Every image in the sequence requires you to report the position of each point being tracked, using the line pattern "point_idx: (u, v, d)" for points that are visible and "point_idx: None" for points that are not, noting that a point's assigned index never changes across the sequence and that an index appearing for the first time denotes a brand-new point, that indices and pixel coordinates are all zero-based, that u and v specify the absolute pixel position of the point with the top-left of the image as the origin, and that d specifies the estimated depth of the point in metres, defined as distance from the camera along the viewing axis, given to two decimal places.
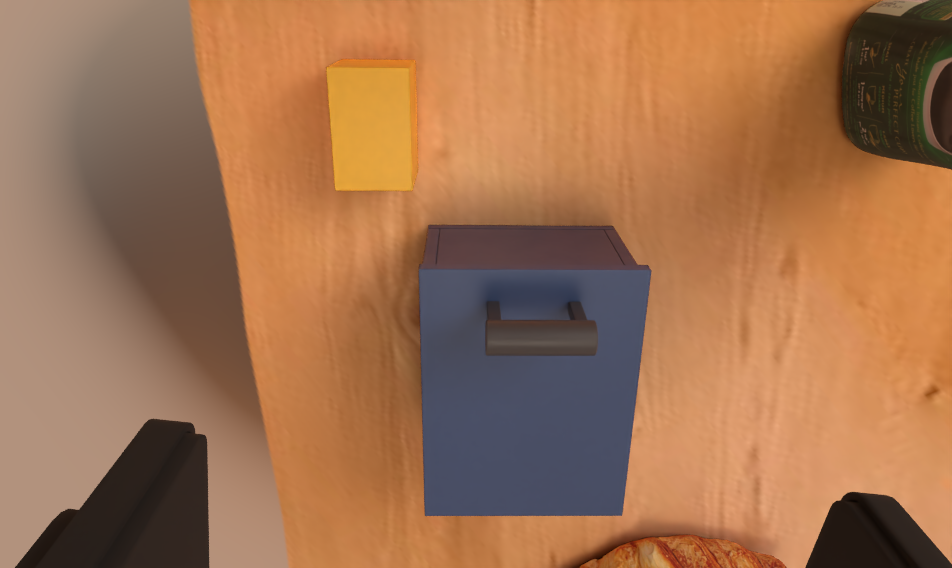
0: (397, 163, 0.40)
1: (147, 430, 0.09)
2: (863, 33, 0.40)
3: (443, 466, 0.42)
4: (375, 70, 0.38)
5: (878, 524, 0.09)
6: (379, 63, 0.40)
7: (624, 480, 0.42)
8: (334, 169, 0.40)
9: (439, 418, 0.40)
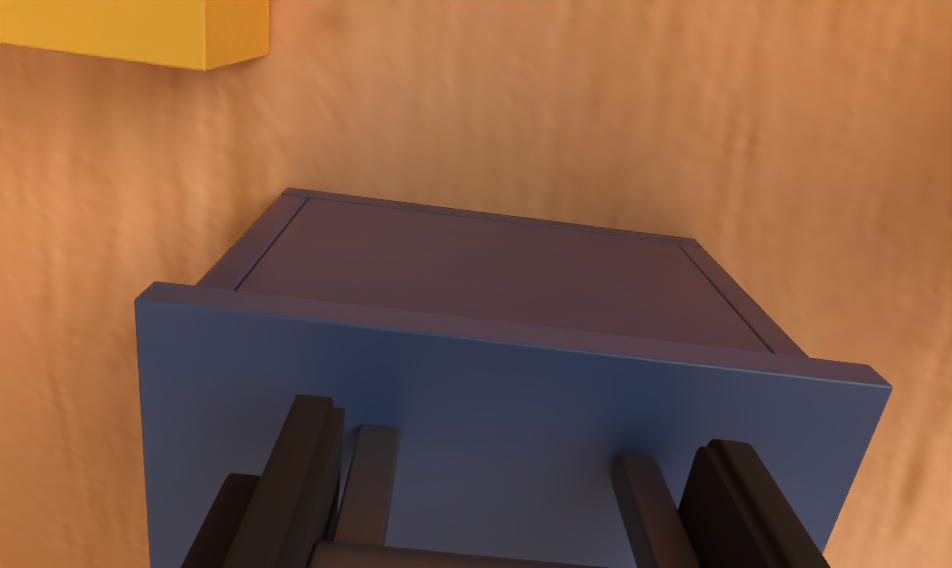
0: None
1: (299, 403, 0.10)
2: None
3: None
4: None
5: (728, 465, 0.10)
6: None
7: None
8: None
9: None
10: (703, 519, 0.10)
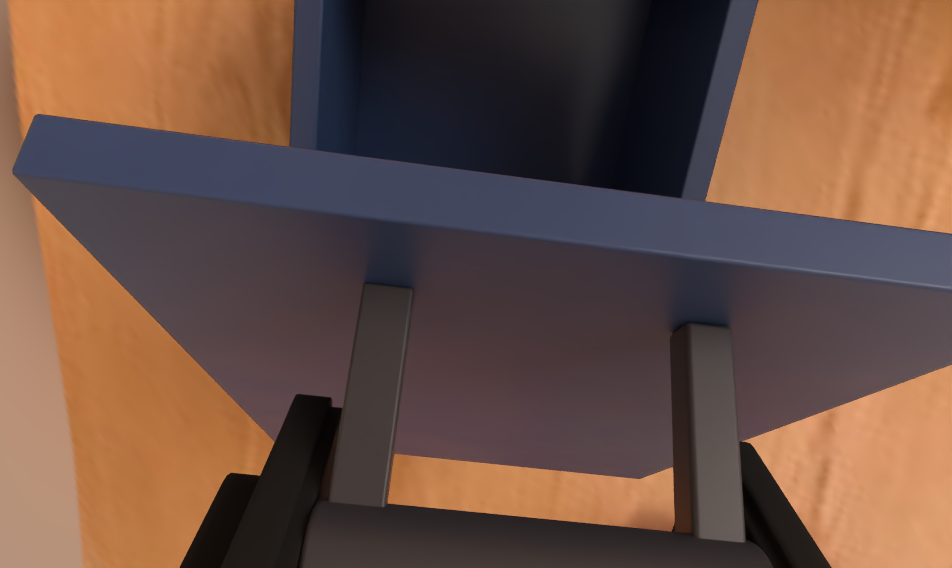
0: None
1: (298, 403, 0.10)
2: None
3: None
4: None
5: None
6: None
7: (665, 467, 0.21)
8: None
9: (264, 392, 0.16)
10: None
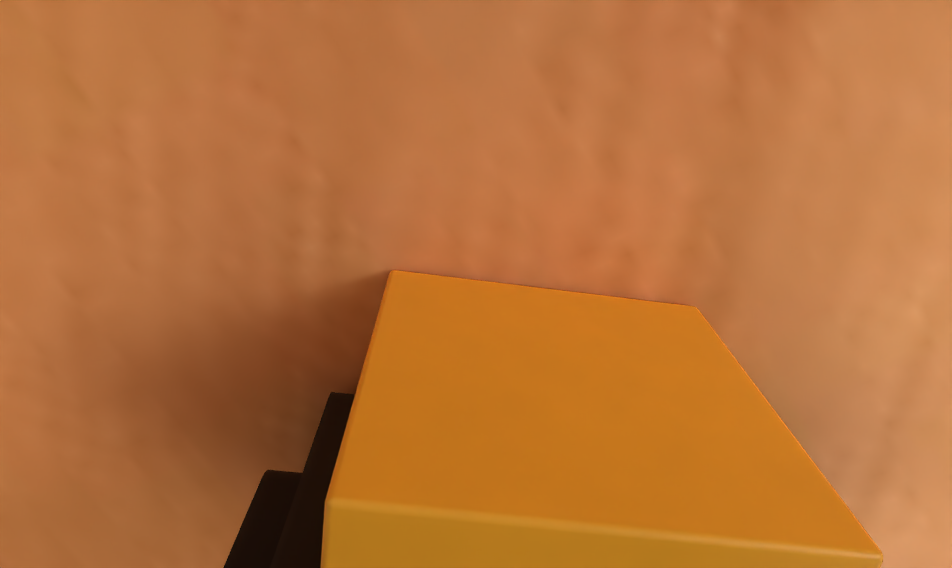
0: None
1: (334, 401, 0.10)
2: None
3: None
4: (662, 552, 0.06)
5: None
6: (606, 384, 0.08)
7: None
8: None
9: None
10: None
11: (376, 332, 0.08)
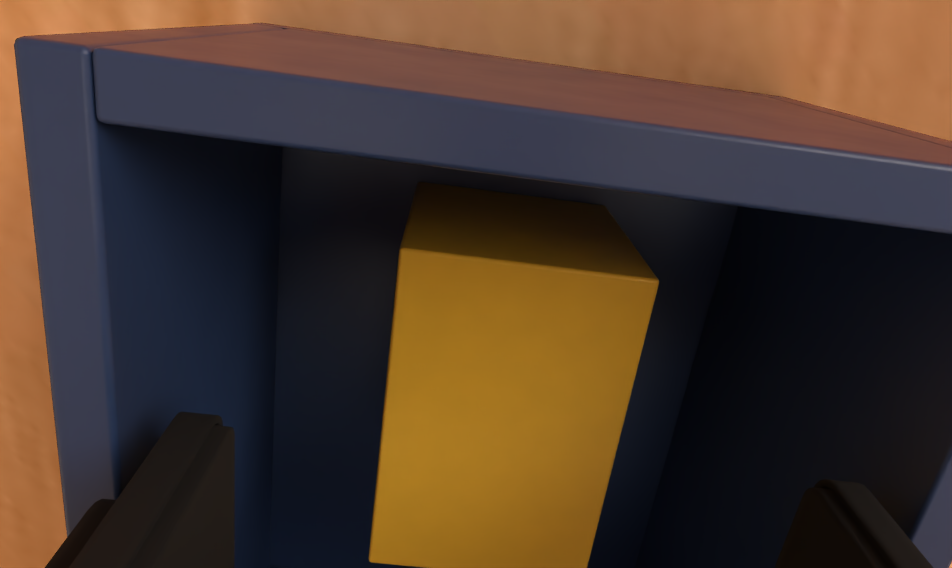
0: (560, 518, 0.14)
1: (178, 422, 0.09)
2: None
3: None
4: (554, 277, 0.12)
5: (848, 510, 0.09)
6: (540, 227, 0.14)
7: None
8: (376, 514, 0.14)
9: None
10: (818, 567, 0.09)
11: (413, 204, 0.14)
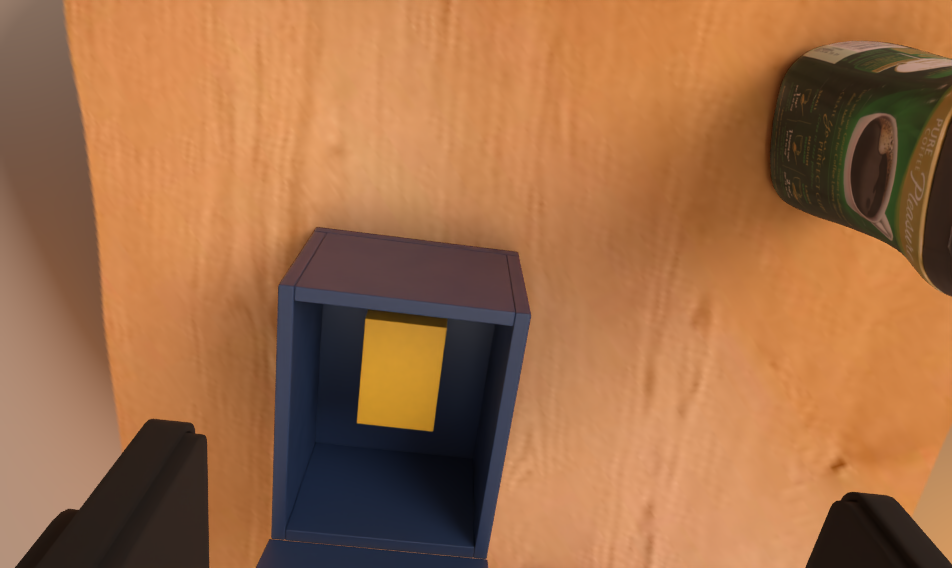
0: (422, 406, 0.40)
1: (147, 430, 0.09)
2: (797, 77, 0.37)
3: None
4: (413, 327, 0.38)
5: (878, 524, 0.09)
6: None
7: None
8: (359, 405, 0.40)
9: None
10: None
11: None
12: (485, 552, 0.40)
